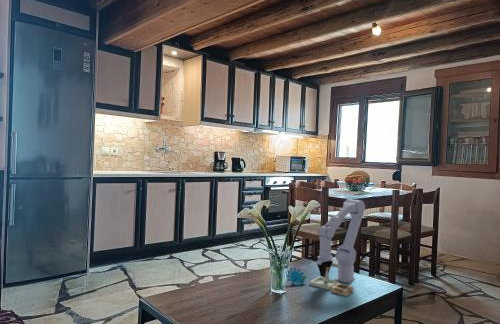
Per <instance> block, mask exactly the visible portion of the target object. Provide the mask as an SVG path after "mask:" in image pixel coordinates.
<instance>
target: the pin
mask: <svg viewBox="0 0 500 324" xmlns="http://www.w3.org/2000/svg"><path fill="white" fill-rule="evenodd" d="M328 269H329V267H327V268H326V273H325V277H323V283H324V284H328V283H329V279H330V276H329V275H330V274H328Z"/></svg>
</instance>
